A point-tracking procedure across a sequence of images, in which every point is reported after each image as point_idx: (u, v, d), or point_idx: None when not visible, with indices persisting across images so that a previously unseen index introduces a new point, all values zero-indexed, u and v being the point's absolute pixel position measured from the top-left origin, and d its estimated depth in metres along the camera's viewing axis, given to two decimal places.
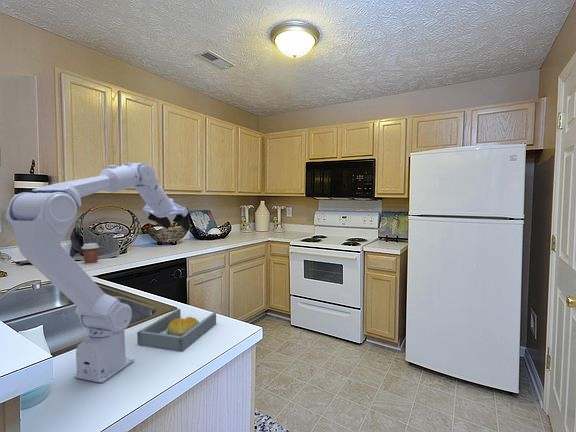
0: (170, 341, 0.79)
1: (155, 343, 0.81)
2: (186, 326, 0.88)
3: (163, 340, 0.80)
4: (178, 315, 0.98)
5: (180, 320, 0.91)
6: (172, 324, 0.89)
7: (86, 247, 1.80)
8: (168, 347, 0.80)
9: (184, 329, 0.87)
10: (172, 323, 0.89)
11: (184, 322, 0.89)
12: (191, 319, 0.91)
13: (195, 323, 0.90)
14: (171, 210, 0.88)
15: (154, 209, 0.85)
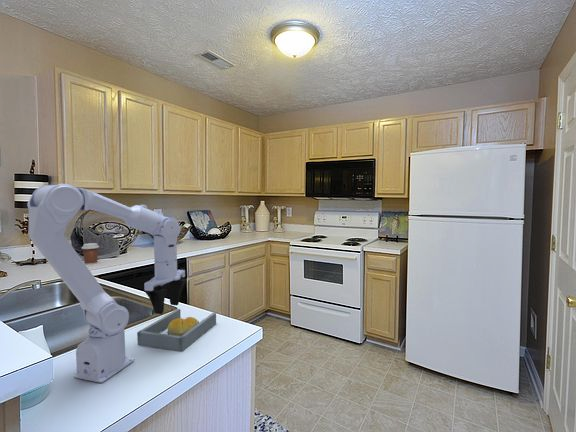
0: (170, 341, 0.79)
1: (155, 343, 0.81)
2: (187, 326, 0.88)
3: (163, 340, 0.80)
4: (178, 315, 0.98)
5: (180, 320, 0.91)
6: (172, 324, 0.89)
7: (86, 247, 1.80)
8: (168, 347, 0.80)
9: (184, 329, 0.87)
10: (172, 323, 0.89)
11: (184, 322, 0.89)
12: (191, 319, 0.91)
13: (195, 323, 0.90)
14: (157, 279, 0.80)
15: None
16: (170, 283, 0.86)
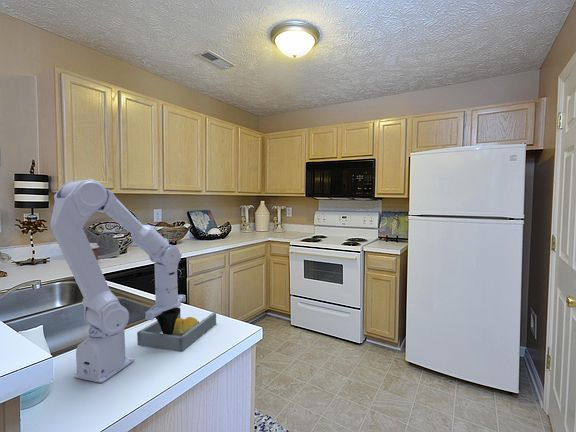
0: (170, 341, 0.79)
1: (155, 343, 0.81)
2: (187, 326, 0.88)
3: (163, 340, 0.80)
4: (178, 315, 0.98)
5: (180, 320, 0.91)
6: None
7: None
8: (168, 347, 0.80)
9: (184, 329, 0.87)
10: None
11: (184, 322, 0.89)
12: (191, 319, 0.91)
13: (195, 323, 0.90)
14: (158, 307, 0.80)
15: None
16: None
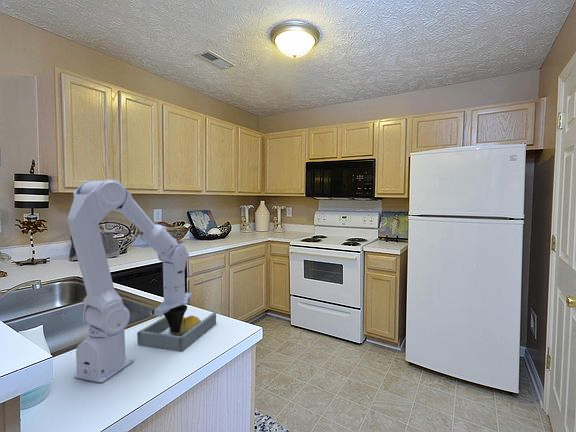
0: (170, 341, 0.79)
1: (155, 343, 0.81)
2: (189, 324, 0.89)
3: (163, 340, 0.80)
4: None
5: (182, 319, 0.91)
6: None
7: None
8: (168, 347, 0.80)
9: (186, 328, 0.88)
10: None
11: (186, 321, 0.90)
12: (193, 318, 0.92)
13: (197, 322, 0.91)
14: (166, 304, 0.84)
15: None
16: None
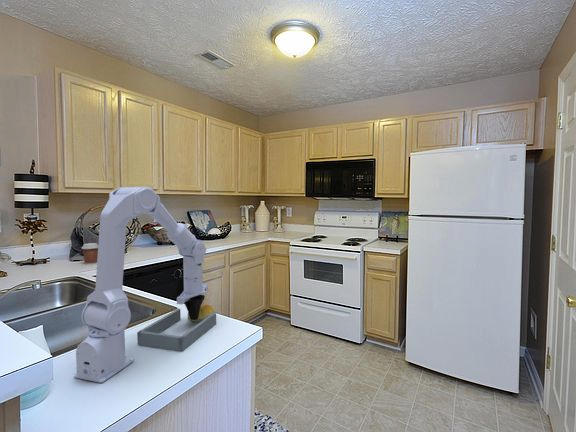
0: (170, 341, 0.79)
1: (155, 343, 0.81)
2: (206, 312, 0.98)
3: (163, 340, 0.80)
4: (178, 315, 0.98)
5: None
6: None
7: (86, 247, 1.80)
8: (168, 347, 0.80)
9: (203, 315, 0.98)
10: None
11: (203, 309, 1.00)
12: (209, 306, 1.01)
13: (212, 310, 1.00)
14: (186, 293, 0.93)
15: None
16: None
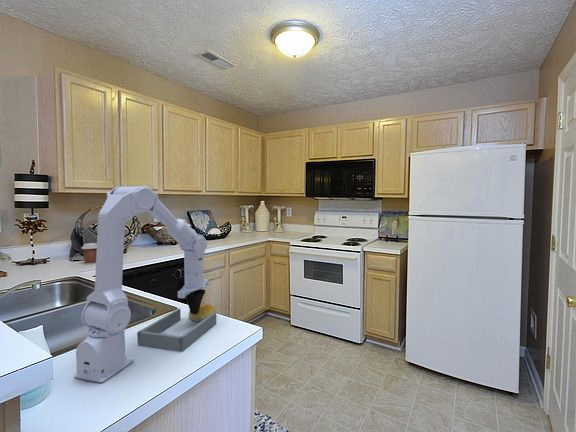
0: (170, 341, 0.79)
1: (155, 343, 0.81)
2: (207, 312, 0.99)
3: (163, 340, 0.80)
4: (178, 315, 0.98)
5: (200, 307, 1.01)
6: None
7: (86, 247, 1.80)
8: (168, 347, 0.80)
9: (204, 315, 0.98)
10: None
11: (203, 309, 1.00)
12: (210, 306, 1.02)
13: (213, 309, 1.01)
14: (187, 288, 0.93)
15: None
16: None
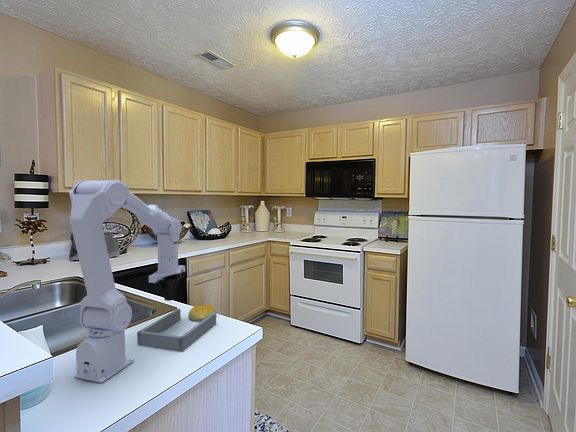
0: (170, 341, 0.79)
1: (155, 343, 0.81)
2: (207, 312, 0.99)
3: (163, 340, 0.80)
4: (178, 315, 0.98)
5: (200, 307, 1.01)
6: (193, 310, 0.99)
7: None
8: (168, 347, 0.80)
9: (205, 315, 0.98)
10: (193, 310, 1.00)
11: (204, 309, 1.00)
12: (210, 306, 1.02)
13: (213, 309, 1.01)
14: (160, 273, 0.90)
15: None
16: None
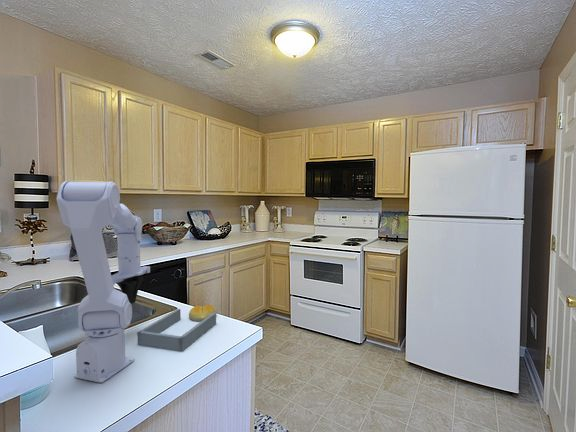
0: (170, 341, 0.79)
1: (155, 343, 0.81)
2: (207, 312, 0.99)
3: (163, 340, 0.80)
4: (178, 315, 0.98)
5: (200, 307, 1.01)
6: (194, 311, 0.99)
7: None
8: (168, 347, 0.80)
9: (205, 315, 0.98)
10: (193, 310, 1.00)
11: (204, 309, 1.00)
12: (210, 306, 1.02)
13: (213, 309, 1.01)
14: (120, 274, 0.85)
15: None
16: None
